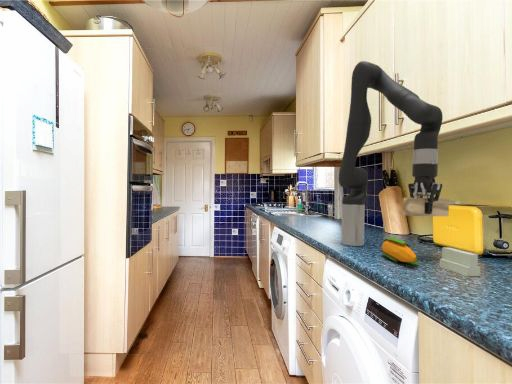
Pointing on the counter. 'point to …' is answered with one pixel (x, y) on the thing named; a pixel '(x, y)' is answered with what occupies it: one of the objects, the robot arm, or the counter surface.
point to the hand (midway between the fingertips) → (423, 212)
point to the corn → (398, 251)
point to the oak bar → (418, 207)
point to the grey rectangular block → (460, 262)
